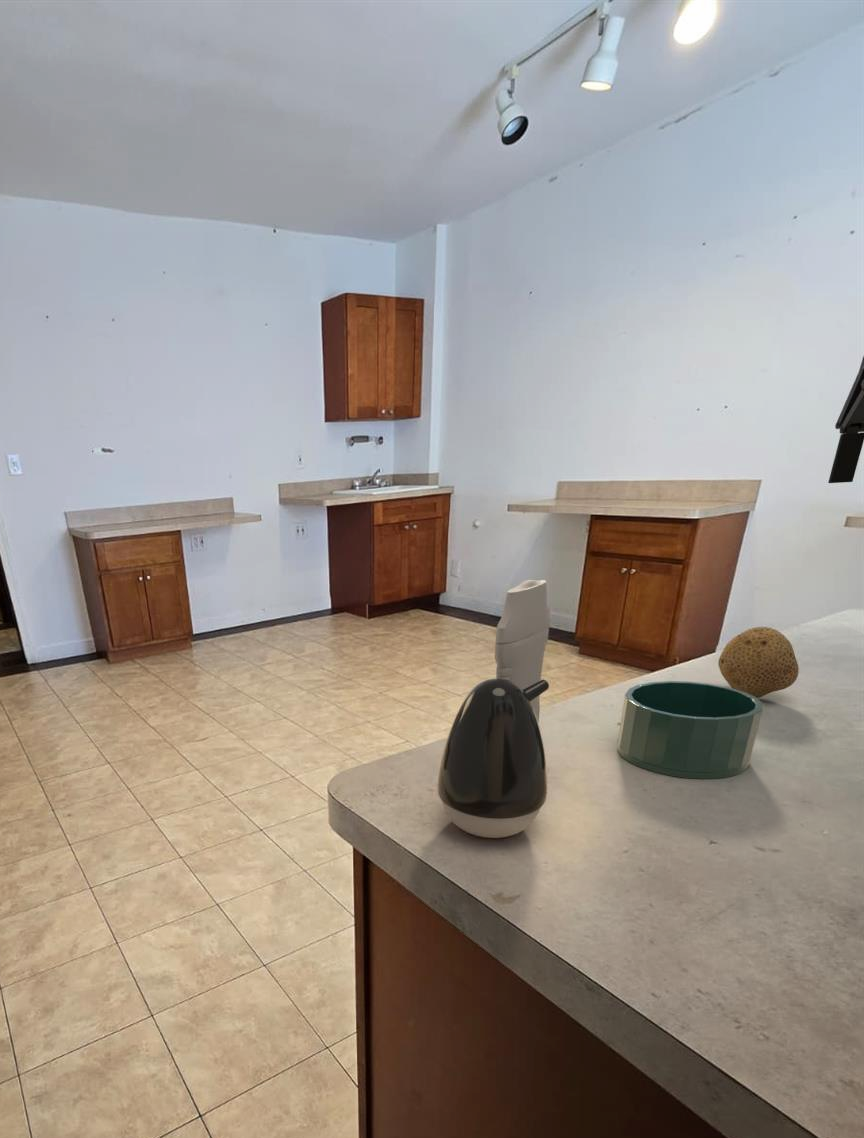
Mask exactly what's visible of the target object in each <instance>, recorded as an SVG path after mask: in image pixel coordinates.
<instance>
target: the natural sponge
mask: <svg viewBox="0 0 864 1138" xmlns="http://www.w3.org/2000/svg"><path fill="white" fill-rule="evenodd" d="M717 662H718V668H719V672H720V674H721V676H722V677H723V679H724V680H725V681H726V682H727V684H728V686H730V688H733V689H736V690H740V691H743V692H746V693H748V694H750V695H752V696H755V697H757V698H758V699H759V698H762V697H765V696H766V695H768V694H771V693H774V692H778V691H783V690H786V689H788V688H790V687H792V685H793V684H794V683H795V682H796V681H797V678H798V676H799V669H800V668H799V663H798V660H797V658H796V655H795V651H794V647H793V645H792V643H791V641H790V640H789V639H788V638H787V637H786V636H785V635H784V634H783V633H782V632H780V631H779V630H777V629H775V628H773V627H768V626H756V627H752V628H749V629H746V630H745V631H743V632H741V633H739V634H737V635H736V636H734V637H733V638H732V639H731V640H729V641H728V643H726V645H725V647H724V648H723V649H722V652H721V654H720V656H719V658H718V661H717Z"/></svg>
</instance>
